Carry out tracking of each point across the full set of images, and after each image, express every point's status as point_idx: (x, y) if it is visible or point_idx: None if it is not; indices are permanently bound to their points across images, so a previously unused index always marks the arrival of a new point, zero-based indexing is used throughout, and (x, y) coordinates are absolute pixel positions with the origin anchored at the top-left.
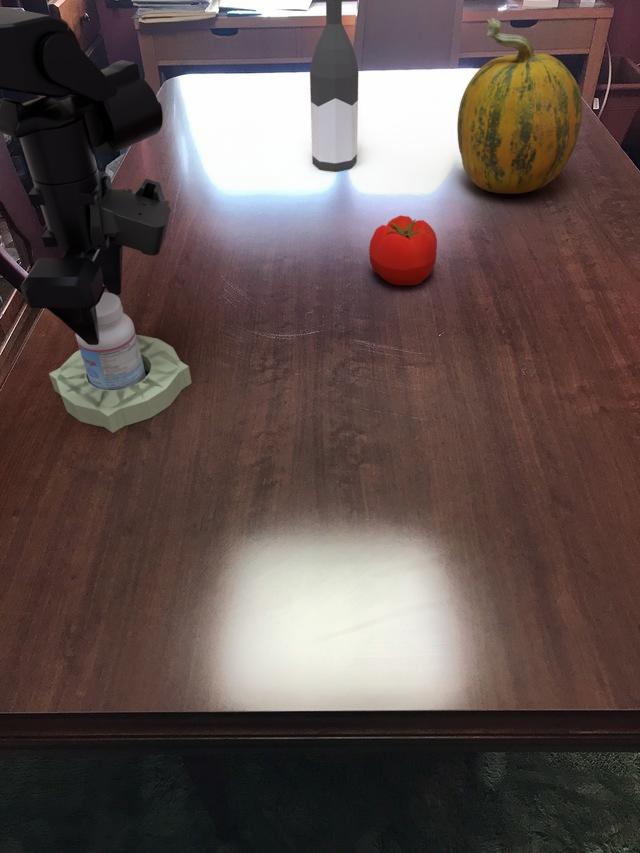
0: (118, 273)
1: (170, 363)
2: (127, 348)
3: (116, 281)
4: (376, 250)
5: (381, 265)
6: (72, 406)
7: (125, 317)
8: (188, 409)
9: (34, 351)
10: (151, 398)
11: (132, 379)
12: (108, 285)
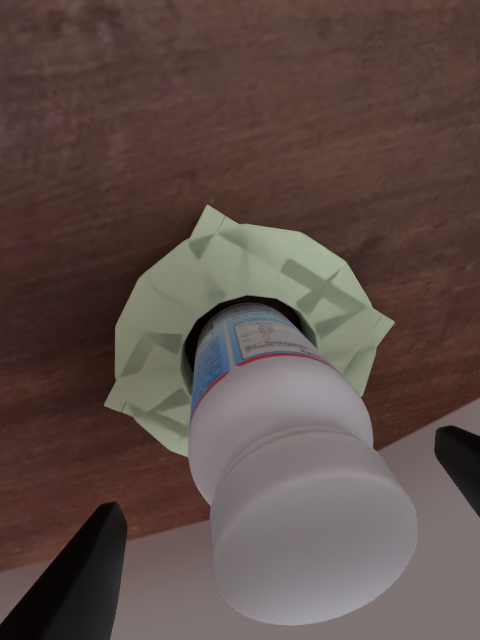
0: (51, 628)
1: (206, 258)
2: (308, 351)
3: (90, 577)
4: None
5: None
6: None
7: (248, 414)
8: (292, 187)
9: (180, 518)
10: (335, 255)
11: (286, 320)
12: (114, 579)
